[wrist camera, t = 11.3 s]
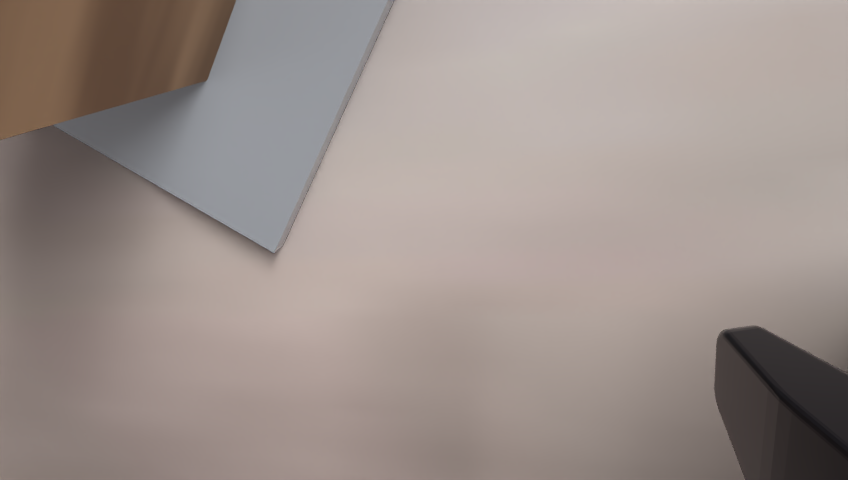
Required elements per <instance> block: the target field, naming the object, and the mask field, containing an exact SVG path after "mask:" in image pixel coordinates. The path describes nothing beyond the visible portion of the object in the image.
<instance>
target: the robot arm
mask: <svg viewBox="0 0 848 480" xmlns="http://www.w3.org/2000/svg"><path fill="white" fill-rule="evenodd" d="M714 390H715V397H716V402H717V406H718V409H719V412H720V414H721V417H722V419H723V422H724V425H725V427H726V430H727V433H728V435H729V438H730V440H731V443H732V446H733V448H734V451H735V454H736V456H737V459H738V461H739V464H740V467H741V469H742V472H743V475H744V477H745V480H848V374H847V373H846V372H844V371H842V370H840V369H838V368H836V367H834V366H833V365H831V364H829V363H827V362H825V361H823V360H821V359H819V358H818V357H816V356H814V355H812V354H810V353H808V352H806V351H805V350H803V349H801V348H799V347H797V346H795V345H793V344H792V343H790V342H788V341H786V340H784V339H782V338H780V337H778V336H777V335H775V334H773V333H771V332H769V331H767V330H765V329H764V328H761V327H759V326H746V327H739V328H732V329H725V330H723V331H722V332H721V333H720V334H719V336H718V338H717V344H716V364H715V383H714Z"/></svg>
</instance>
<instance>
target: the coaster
mask: <svg viewBox="0 0 848 480" xmlns="http://www.w3.org/2000/svg"><path fill="white" fill-rule="evenodd" d="M393 2H394V0H236V2H235V5H234V8H233V11H232V13H231V16H230V19H229V22H228V24H227V27H226V30H225V33H224V35H223V38H222V41H221V44H220V46H219V49H218V52H217V55H216V57H215V60H214V63H213V66H212V69H211V71H210V74H209V77H208V80H207V81H204V82H200V83H197V84H193V85H190V86H186V87H183V88H179V89H176V90H172V91H169V92H165V93H162V94H158V95H155V96H152V97H148V98H145V99H141V100H138V101H134V102H131V103H127V104H124V105H120V106H117V107H113V108H110V109H106V110H103V111H99V112H96V113H92V114H89V115H85V116H82V117H78V118H75V119H71V120H68V121H64V122H61V123H57V124H54V125H53V126H55V127H56V128H58V129H60V130H62V131H63V132H65V133H67V134H69V135H70V136H72V137H74V138H76V139H77V140H79V141H81V142H82V143H84V144H86V145H88V146H89V147H91V148H93V149H95V150H96V151H98V152H100V153H102V154H103V155H105V156H107V157H108V158H110V159H112V160H114V161H115V162H117V163H119V164H121V165H122V166H124V167H126V168H127V169H129V170H131V171H133V172H134V173H136V174H138V175H140V176H141V177H143V178H145V179H147V180H148V181H150V182H152V183H153V184H155V185H157V186H159V187H160V188H162V189H164V190H166V191H167V192H169V193H171V194H173V195H174V196H176V197H178V198H179V199H181V200H183V201H185V202H186V203H188V204H190V205H192V206H193V207H195V208H197V209H199V210H200V211H202V212H204V213H205V214H207V215H209V216H211V217H212V218H214V219H216V220H218V221H219V222H221V223H223V224H224V225H226V226H228V227H230V228H231V229H233V230H235V231H237V232H238V233H240V234H242V235H244V236H245V237H247V238H249V239H250V240H252V241H254V242H256V243H257V244H259V245H261V246H263V247H264V248H266V249H268V250H270V251H271V252H273V253H275V252H276V251H277V250H278V249H280V248H281V247H282V246H283V244H284V242H285V240H286V238H287V236H288V233H289V231H290V229H291V227H292V225H293V222H294V220H295V218H296V216H297V213H298V211H299V209H300V207H301V205H302V202H303V200H304V198H305V196H306V194H307V191H308V189H309V187H310V185H311V183H312V180H313V178H314V176H315V174H316V172H317V169H318V167H319V165H320V163H321V161H322V158H323V156H324V154H325V152H326V150H327V147H328V145H329V143H330V141H331V139H332V136H333V134H334V132H335V130H336V128H337V125H338V123H339V121H340V119H341V116H342V114H343V112H344V110H345V108H346V105H347V103H348V101H349V99H350V97H351V94H352V92H353V90H354V88H355V86H356V83H357V81H358V79H359V77H360V75H361V72H362V70H363V68H364V66H365V64H366V61H367V59H368V57H369V55H370V53H371V50H372V48H373V46H374V44H375V42H376V39H377V37H378V35H379V33H380V31H381V28H382V26H383V24H384V22H385V19H386V17H387V15H388V13H389V11H390V8H391V6H392V4H393Z"/></svg>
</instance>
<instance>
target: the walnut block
mask: <svg viewBox="0 0 848 480" xmlns="http://www.w3.org/2000/svg"><path fill="white" fill-rule="evenodd" d="M235 2H236V0H0V140H2V139H5V138H9V137H12V136H16V135H19V134H23V133H26V132H29V131H33V130H36V129H40V128H43V127H47V126H50V125H54V124H57V123H61V122H64V121H68V120H71V119H75V118H78V117H82V116H85V115H89V114H92V113H96V112H99V111H103V110H106V109H110V108H113V107H117V106H120V105H124V104H127V103H131V102H134V101H138V100H141V99H145V98H148V97H152V96H155V95H158V94H162V93H165V92H169V91H172V90H176V89H179V88H183V87H186V86H190V85H193V84H197V83H200V82H204V81H207V80H208V77H209V74H210V71H211V69H212V66H213V63H214V60H215V57H216V55H217V52H218V49H219V46H220V44H221V41H222V38H223V35H224V33H225V30H226V27H227V24H228V22H229V19H230V16H231V13H232V11H233V8H234V5H235Z"/></svg>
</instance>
